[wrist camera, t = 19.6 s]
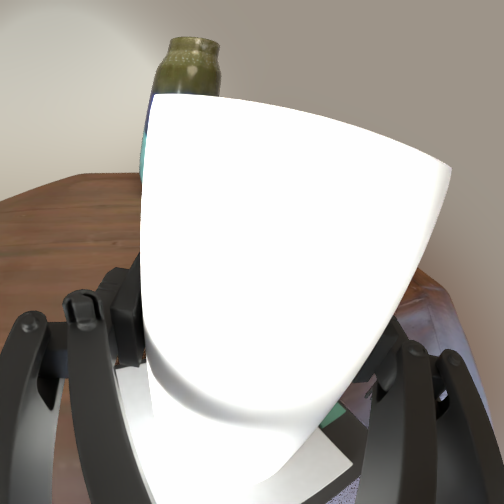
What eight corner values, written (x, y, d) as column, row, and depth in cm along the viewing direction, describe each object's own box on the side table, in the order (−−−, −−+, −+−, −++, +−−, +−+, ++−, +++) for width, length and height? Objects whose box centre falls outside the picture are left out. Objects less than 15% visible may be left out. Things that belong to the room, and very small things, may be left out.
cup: (198, 357, 19) (235, 106, 12) (308, 402, 17) (418, 156, 10) (130, 442, 12) (80, 93, 5) (268, 508, 10) (517, 197, 3)
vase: (216, 208, 53) (246, 44, 39) (143, 211, 46) (168, 28, 32) (192, 186, 63) (215, 52, 49) (133, 187, 56) (152, 43, 42)
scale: (374, 459, 15) (394, 443, 14) (159, 578, 6) (153, 583, 5) (262, 339, 26) (269, 317, 24) (76, 388, 16) (66, 366, 15)
